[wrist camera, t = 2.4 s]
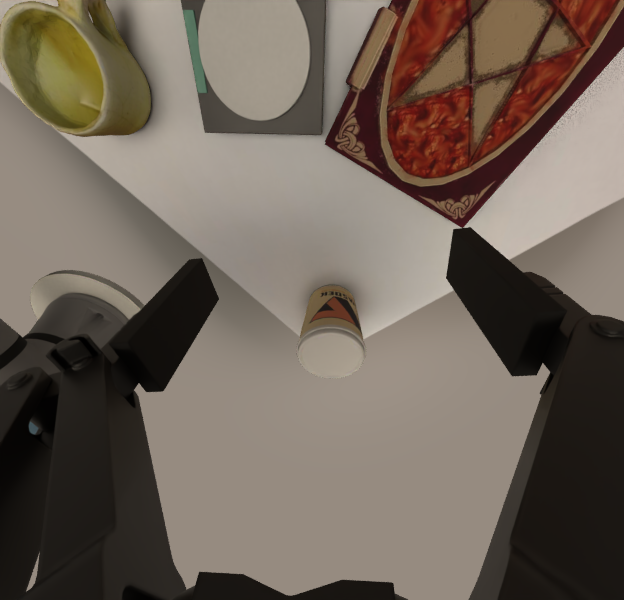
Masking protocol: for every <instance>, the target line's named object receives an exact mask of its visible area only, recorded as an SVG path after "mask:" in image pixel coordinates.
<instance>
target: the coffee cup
mask: <svg viewBox="0 0 624 600" xmlns="http://www.w3.org/2000/svg"><path fill="white" fill-rule="evenodd" d="M296 352H297V357H298V359H299V361H300V363H301V365H302V366H303V367H304V368H305V369H306V370H307V371H308V372H310V373H311V374H313V375H316V376H319V377H322V378H329V379H336V378H342V377H346V376H348V375H351V374H353V373H354V372H356V371H357V370H358V369H359V368H360V367H361V365H362V363H363V361H364V359H365V357H366V347H365V344H364V341H363V336H362V332H361V327H360V322H359V318H358V313H357V309H356V305H355V301H354V298H353V296H352V295H351V293H350V292H349V291H347V290H346V289H345V288H343V287H340V286H335V285H328V286H323V287H321V288H319V289H317V290H316V291H315V292H314V293H313V294H312V295H311V297H310V300H309V303H308V307H307V311H306V315H305V318H304V322H303V326H302V330H301V335H300V339H299V341H298V344H297V348H296Z"/></svg>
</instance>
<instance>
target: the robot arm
mask: <svg viewBox="0 0 624 600" xmlns="http://www.w3.org/2000/svg"><path fill="white" fill-rule="evenodd" d="M446 279H447V280H448V282H449V283H450V285H451V286H452V288H453V289H454V290H455V292H456V293H457V295H458V296H459V298H460V299H461V301H462V302H463V304H464V305H465V307H466V308H467V310H468V311H469V313H470V314H471V316H472V317H473V319H474V320H475V322H476V323H477V325H478V326H479V328H480V329H481V330H482V332H483V334H484V335H485V337H486V338H487V340H488V341H489V343H490V344H491V346H492V347H493V349H494V350H495V351H496V353H497V354H498V356H499V357H500V359H501V361H502V362H503V364H504V365H505V366H506V368H507V369H508V371H509V372H510V374H511V375H512V376H528V375H537V373H538V371H539V369H540V367H541V365H542V363H544V365H545V366H546V367H547V368H548V370H549V371H550V374H549V376H548V378H547V380H546V382H545V384H544V386H543V388H542V390H541V392H540V394H542V395H541V398H540V401H539V404H538V407H537V410H536V413H535V415H534V418H533V421H532V424H531V427H530V430H529V433H528V436H527V439H526V441H525V444H524V447H523V450H522V453H521V456H520V459H519V462H518V465H517V468H516V470H515V474H514V476H513V479H512V483H511V485H510V488H509V491H508V494H507V497H506V500H505V502H504V505H503V508H502V512H501V514H500V517H499V520H498V523H497V526H496V528H495V531H494V534H493V537H492V540H491V543H490V546H489V549H488V552H487V555H486V557H485V560H484V563H483V566H482V569H481V572H480V575H479V577H478V580H477V582H476V585H475V587H474V589H473V591H472V594H471V596H470V598H469V600H624V322H623V321H621V320H618V319H615V318H612V317H607V316H601V315H591V314H590V313H589V312H587V311H586V310H585V309H584V308H582V307H581V306H580V305H579V304H577V303H576V302H575V301H574V300H572V299H571V298H570V297H569V296H567V295H566V294H563V292H562V291H561V290H559V289H558V288H557V287H556V288H555V285H553V284H552V283H551V282H549V281H548V280H547V279H546V278H544V277H542V276H539V275H537V274H535V273H532V272H525V273H523V272H522V271H520V270H519V269H518V268H517V267H516V266H515V265H514V264H512V263H511V262H510V261H509V260H508V259H507V258H505V257H504V256H503V255H502V254H501V253H500V252H498V251H497V250H496V249H495V248H494V247H493V246H491V245H490V244H489V243H488V242H487V241H486V240H484V239H483V238H482V237H481V236H480V235H479V234H477V233H476V232H475V231H474V230H473V229H472V228H470V227H469V228H460V229H453V236H452V242H451V249H450V256H449V263H448V269H447V276H446ZM218 300H219V298H218V295H217V293H216V291H215V288H214V286H213V283H212V281H211V279H210V276H209V274H208V272H207V269H206V267H205V264H204V262H203V259H202V258H201V259H191V260H189V261H187V263H186V264H185V265H184V266H183V267H182V268H181V269H180V270H179V271H178V272H177V273H176V274H175V275H174V276H173V277H172V278H171V279H170V280H169V281H168V282H167V283H166V285H165V286H164V287H163V288H162V289H161V290H160V291H159V292H158V293H157V294H156V295H155V296H154V297H153V298H152V299H151V300H150V301H149V302H148V303H147V304H146V305H145V306H144V307H143V308H142V309H141V310H140V311H139V312H137V313H136V314H134V315H133V316H132V317H131V318H130V319H128V318H127V317H126V316H125V315H124V314H123V313H122V312H121V311H120V310H118V309H117V308H116V307H114V306H113V305H111V304H110V303H108V302H106V301H104V300H102V299H100V298H97V297H95V296H91V295H88V294H83V293H67V294H64V295H61V296H60V297H58V298H57V299H55V300H54V301H52V302H51V303H50V304H49V305H48V306H47V307H46V309H45V311H44V313H43V314H42V316H41V317H40V318H39V320H38V321H37V322H36V324H35V325H34V327H33V328H32V329H31V331H30V332H29V333H28V334H27V335H25V336H24V337H21V336H20V335H19V334H18V333H17V332H16V331H14V330H13V329H12V328H11V327H10V326H8V325H7V324H6V323H5V322H4V321H3V320H1V319H0V600H408V599H406V598H404V597H401V596H399V595H397V594H395V593H394V585H393V583H389V582H372V581H354V580H340V581H337V582H334V583H331V584H328V585H325V586H322V587H319V588H316V589H313V590H309V591H306V592H303V593H300V594H297V595H293V596H288V595H285V594H283V593H281V592H278V591H276V590H274V589H272V588H270V587H268V586H266V585H264V584H262V583H260V582H258V581H256V580H254V579H252V578H250V577H248V576H246V575H244V574H229V573H211V572H199V575H198V578H197V581H196V585H195V586H193V587H191V588H189V589H187V590H186V587H185V584H184V582H183V580H182V578H181V576H180V574H179V573H178V571H177V569H176V567H175V565H174V563H173V559H172V555H171V550H170V546H169V542H168V537H167V531H166V527H165V522H164V517H163V512H162V508H161V503H160V498H159V493H158V489H157V484H156V479H155V474H154V470H153V465H152V460H151V455H150V450H149V446H148V441H147V436H146V431H145V426H144V421H143V417H142V412H141V407H140V402H139V398H138V395H137V394H136V392H135V391H134V389H135V388H136V386H137V385H138V383H140V385H141V386H142V387H143V388H144V390H145V391H146V392H161V391H164V389H165V388H166V386H167V384H168V383H169V381H170V379H171V378H172V376H173V374H174V373H175V371H176V369H177V368H178V366H179V364H180V363H181V361H182V360H183V358H184V356H185V355H186V353H187V351H188V349H189V348H190V346H191V345H192V343H193V341H194V340H195V338H196V336H197V335H198V333H199V331H200V330H201V328H202V326H203V324H204V323H205V321H206V320H207V318H208V316H209V315H210V313H211V311H212V310H213V308H214V306H215V305H216V303H217V301H218ZM39 552H40V555H39V564H38V571H37V577H36V581H35V584H34V585H33V587H32V588H31V589H30V590H28V591H27V592H26V590H27V587H28V584H29V581H30V578H31V575H32V572H33V569H34V566H35V563H36V561H37V557H38V554H39Z"/></svg>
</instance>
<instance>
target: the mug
mask: <svg viewBox="0 0 624 600" xmlns="http://www.w3.org/2000/svg"><path fill="white" fill-rule="evenodd" d="M57 1H58V7H54V6H51V5H48V4H44V3H40V2H36V1H28V2H23V3H19V4H16V5H14V6H13V7H11V8H10V9H9V10H8V11H7V12H6V14H5V16H4V18H3V20H2V22H1V24H0V61H1V64H2V66H3V68H4V69H5V71H6V72H7V74H8V76H9V78H10V80H11V83H12V86H13V88H14V90H15V92H16V94H17V95H18V97H19V98H20V99H21V101H22V102H23V104H24V105H25V106H26V107H27V108H28V109H29V110H30V111H32V112H33V113H34V114H35V115H36V116H37V117H39V118H40V119H41V120H42V121H44V122H45V123H46V124H48V125H50V126H52V127H54V128H55V129H57V130H58V131H61V132H64V133H68V134H72V135H75V136H82V137H88V136H105V135H129V134H132V133H135V132H136V131H138V130H139V129H140V128H142V127H143V126H144V124H145V123H146V122H147V119H148V116H149V114H150V108H151V97H150V90H149V85H148V83H147V80H146V78H145V76H144V74H143V72H142V70H141V68H140V66H139V65H138V63H137V62H136V60H135V59H134V57H133V56H132V55H131V54H130V52H129V50H128V48H127V46H126V44H125V42H124V41H123V40H122V38H121V36H120V34H119V33H118V31H117V29H116V26H115V22H114V19H113V17H112V14H111V12H110V10H109V8H108V6H107V4H106V0H57ZM88 11H89V12H88ZM89 13H90V15H91V17H92V20H93V23H92V22H91V19H90V17H89ZM93 24H94V25H93Z"/></svg>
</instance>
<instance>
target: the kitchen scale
mask: <svg viewBox="0 0 624 600" xmlns="http://www.w3.org/2000/svg"><path fill="white" fill-rule="evenodd" d="M181 3H182V9H183V14H184V20H185V25H186V31H187V36H188V42H189V47H190V53H191V58H192V64H193V70H194V75H195V81H196V86H197V92H198V97H199V103H200V108H201V114H202V119H203V125H204V130H205V132H207V133H252V134H297V135H321V134H322V119H323V87H324V54H325V22H326V0H181Z"/></svg>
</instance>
